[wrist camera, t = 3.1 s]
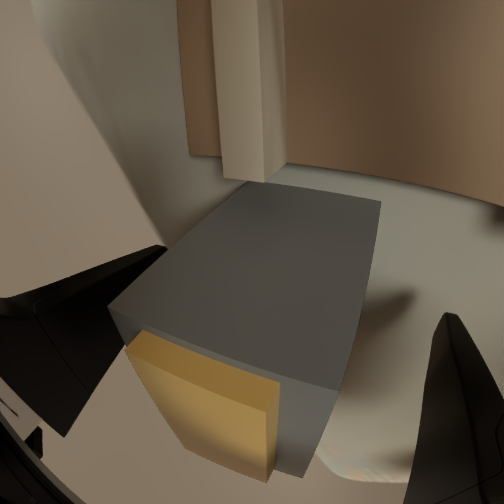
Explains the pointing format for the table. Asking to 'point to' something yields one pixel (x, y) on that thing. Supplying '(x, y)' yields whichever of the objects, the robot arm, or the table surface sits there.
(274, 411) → the plug block
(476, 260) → the table surface
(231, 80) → the pin socket
